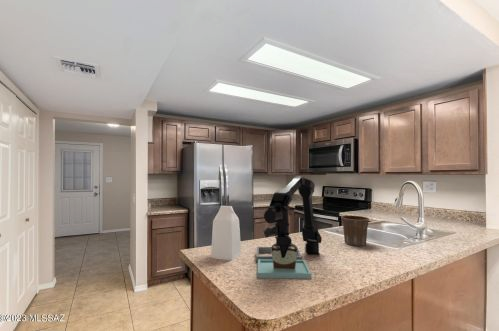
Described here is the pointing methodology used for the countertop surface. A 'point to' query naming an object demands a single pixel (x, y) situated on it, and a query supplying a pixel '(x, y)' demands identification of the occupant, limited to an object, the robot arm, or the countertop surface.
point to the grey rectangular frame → (267, 250)
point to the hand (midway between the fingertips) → (282, 255)
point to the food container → (289, 259)
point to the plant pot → (355, 230)
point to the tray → (282, 270)
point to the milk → (226, 235)
